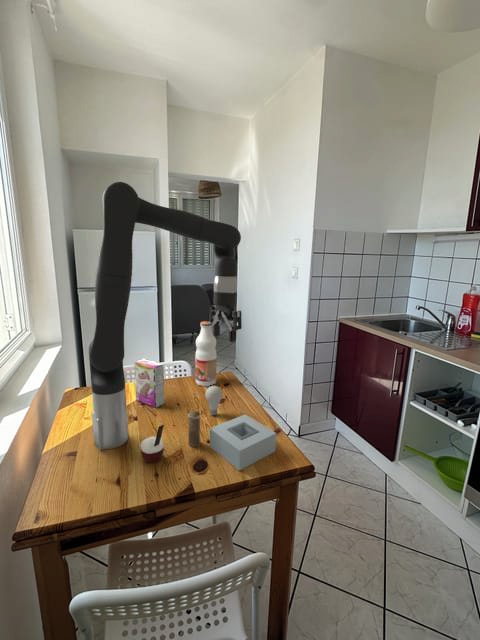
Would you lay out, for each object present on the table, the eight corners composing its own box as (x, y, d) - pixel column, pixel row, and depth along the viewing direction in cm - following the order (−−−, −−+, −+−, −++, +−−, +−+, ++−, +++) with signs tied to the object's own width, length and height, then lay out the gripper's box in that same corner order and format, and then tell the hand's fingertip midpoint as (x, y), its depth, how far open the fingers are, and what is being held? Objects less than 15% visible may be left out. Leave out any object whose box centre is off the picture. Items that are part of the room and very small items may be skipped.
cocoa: (139, 454, 92) (135, 416, 90) (161, 448, 95) (158, 410, 93) (145, 472, 84) (141, 431, 81) (168, 465, 86) (165, 425, 84)
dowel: (192, 448, 94) (192, 418, 92) (186, 443, 97) (186, 413, 95) (202, 444, 97) (202, 414, 95) (196, 439, 99) (195, 410, 97)
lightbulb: (225, 413, 116) (225, 385, 114) (217, 420, 111) (217, 391, 108) (210, 409, 118) (210, 381, 116) (202, 416, 113) (202, 388, 111)
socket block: (239, 470, 85) (239, 450, 84) (209, 446, 96) (209, 427, 94) (275, 451, 94) (276, 432, 93) (244, 430, 104) (245, 413, 103)
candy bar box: (135, 401, 124) (133, 361, 120) (145, 396, 128) (143, 357, 125) (155, 408, 118) (154, 367, 115) (165, 403, 122) (164, 363, 119)
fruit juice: (217, 386, 139) (217, 324, 133) (195, 387, 137) (195, 324, 132) (215, 378, 148) (215, 320, 142) (195, 379, 147) (194, 320, 141)
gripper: (203, 288, 105) (202, 335, 108) (230, 293, 94) (228, 345, 97) (221, 287, 109) (220, 333, 113) (248, 292, 99) (246, 341, 102)
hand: (224, 338), depth 105 cm, fingers open, 8 cm apart
